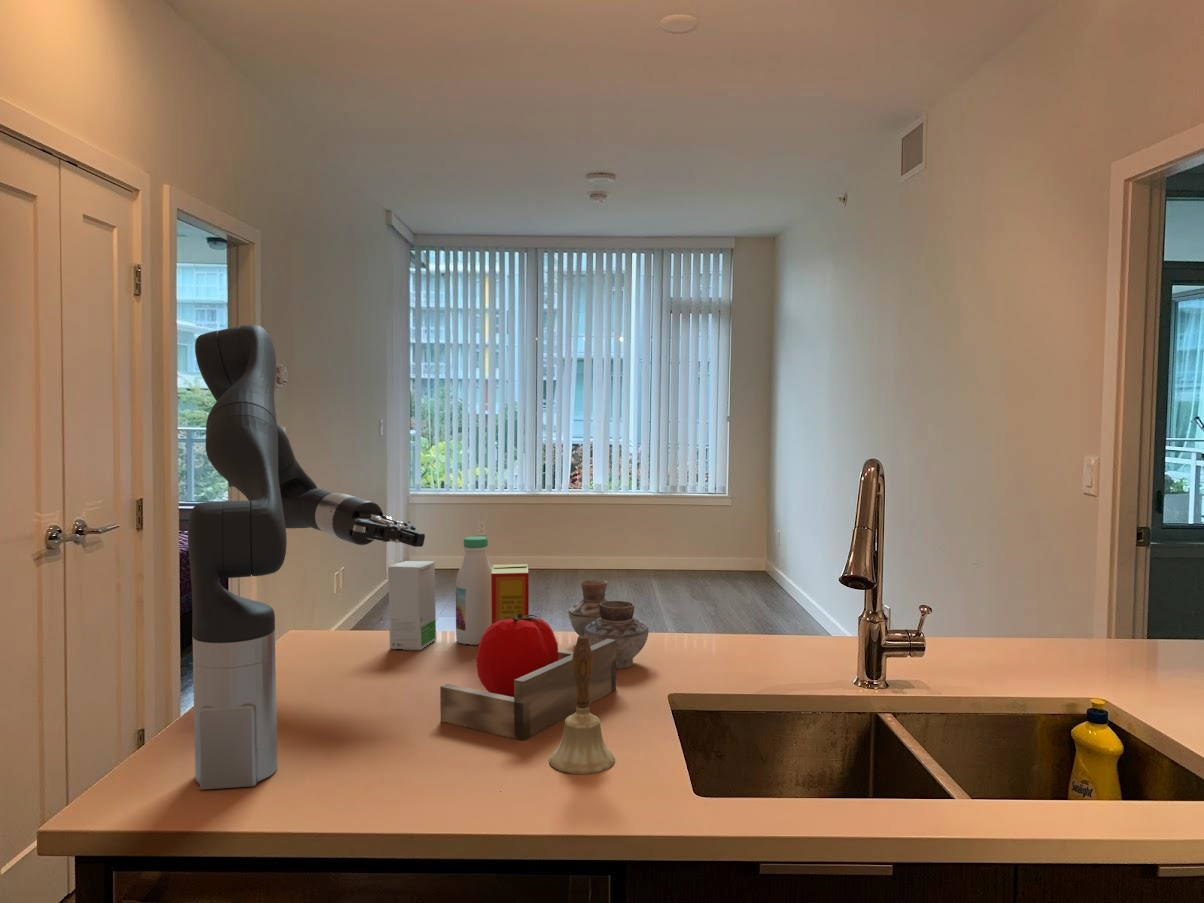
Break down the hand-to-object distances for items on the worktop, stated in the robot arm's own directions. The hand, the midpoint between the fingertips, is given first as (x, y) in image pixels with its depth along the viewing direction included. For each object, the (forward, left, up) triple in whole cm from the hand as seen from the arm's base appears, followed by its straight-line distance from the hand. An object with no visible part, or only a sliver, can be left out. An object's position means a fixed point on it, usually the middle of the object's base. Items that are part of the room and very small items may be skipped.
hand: (420, 540), depth 139 cm
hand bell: (-34, -21, -24) cm, 46 cm away
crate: (-11, -16, -24) cm, 31 cm away
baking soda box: (+17, -15, -24) cm, 33 cm away
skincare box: (+26, +3, -24) cm, 36 cm away
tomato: (-9, -15, -24) cm, 29 cm away
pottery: (+14, -32, -24) cm, 43 cm away
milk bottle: (+27, -9, -24) cm, 37 cm away
